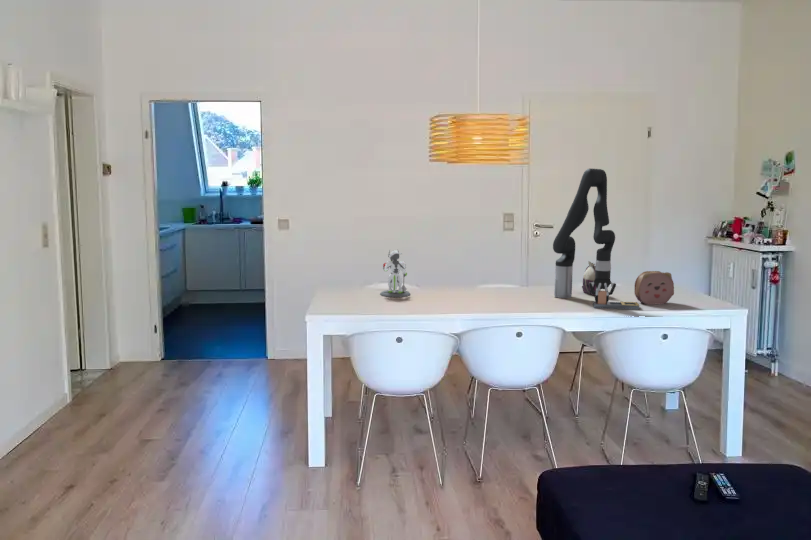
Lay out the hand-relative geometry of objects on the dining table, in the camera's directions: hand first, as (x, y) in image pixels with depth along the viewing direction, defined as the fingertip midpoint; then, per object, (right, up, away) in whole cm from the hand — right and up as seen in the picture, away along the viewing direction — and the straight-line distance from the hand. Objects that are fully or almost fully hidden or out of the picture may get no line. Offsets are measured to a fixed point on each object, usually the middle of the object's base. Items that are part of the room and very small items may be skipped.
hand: (601, 302), depth 372 cm
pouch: (+4, +3, +36) cm, 36 cm away
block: (0, -2, 0) cm, 2 cm away
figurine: (-106, +3, +34) cm, 111 cm away
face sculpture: (+30, -1, +12) cm, 32 cm away
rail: (+7, -2, -1) cm, 7 cm away
